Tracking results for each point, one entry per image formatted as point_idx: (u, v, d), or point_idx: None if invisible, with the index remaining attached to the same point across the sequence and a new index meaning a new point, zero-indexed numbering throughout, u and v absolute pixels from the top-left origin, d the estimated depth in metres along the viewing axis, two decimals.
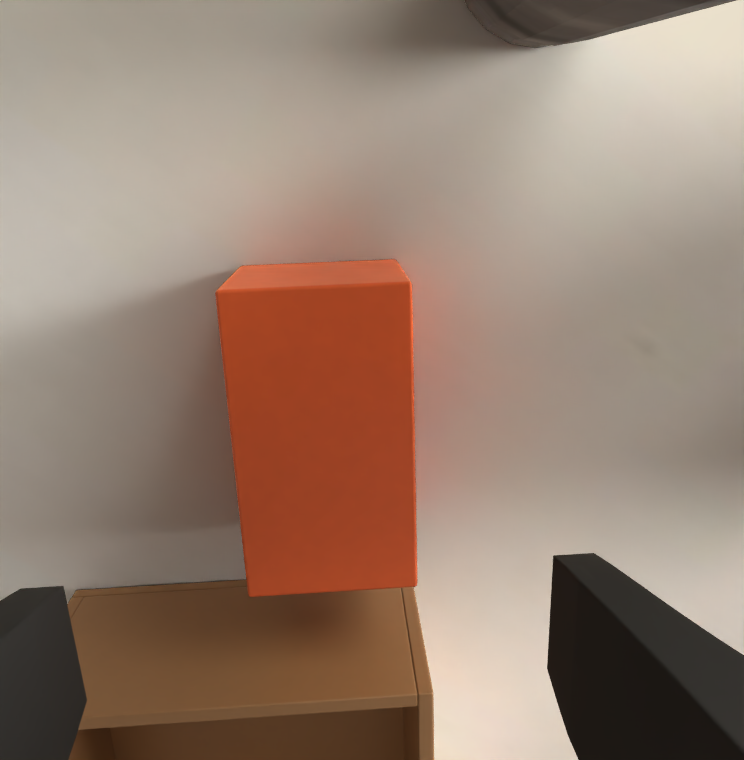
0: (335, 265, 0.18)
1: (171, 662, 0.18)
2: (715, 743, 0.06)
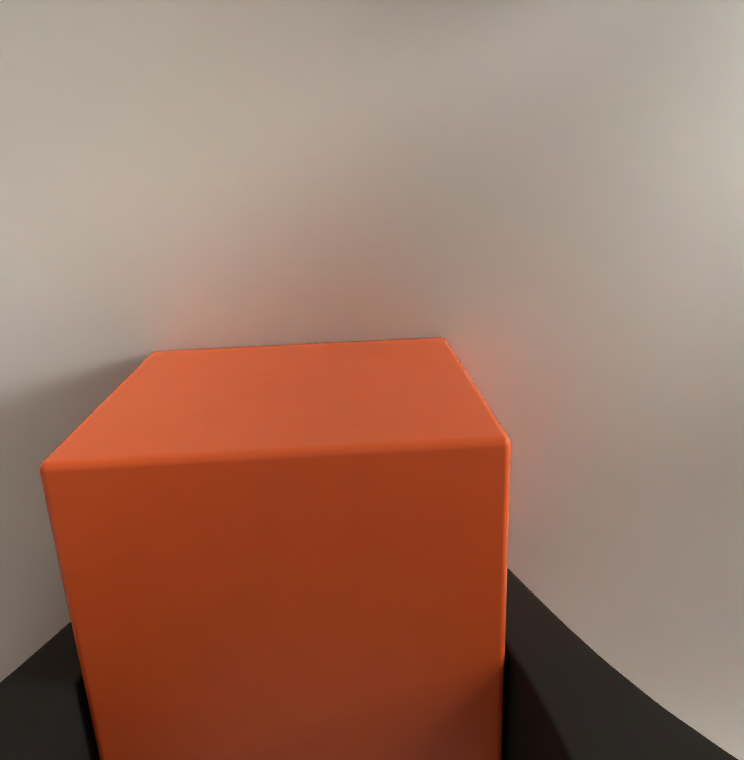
0: (331, 356, 0.09)
1: None
2: (558, 754, 0.06)
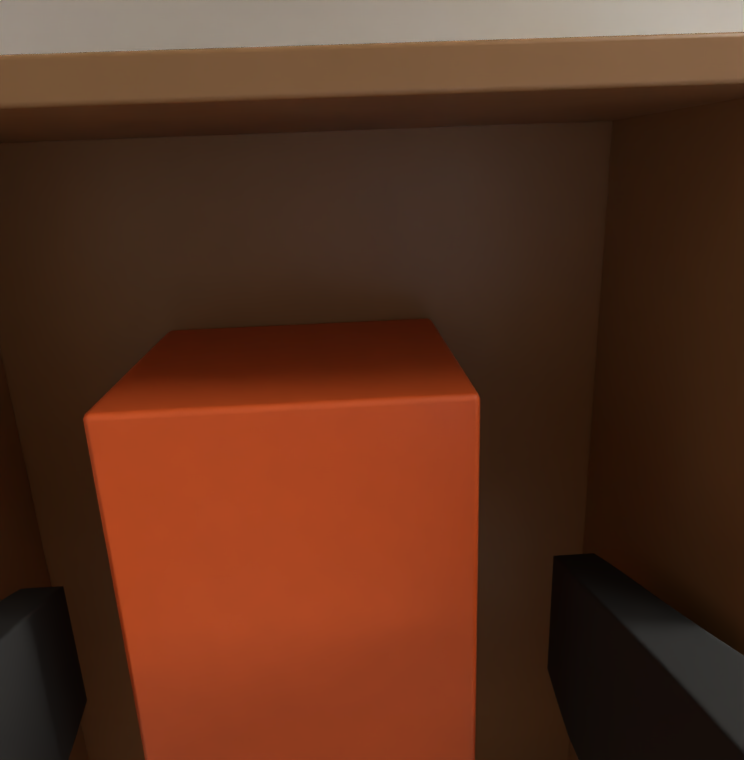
0: (329, 334, 0.10)
1: None
2: (715, 743, 0.06)
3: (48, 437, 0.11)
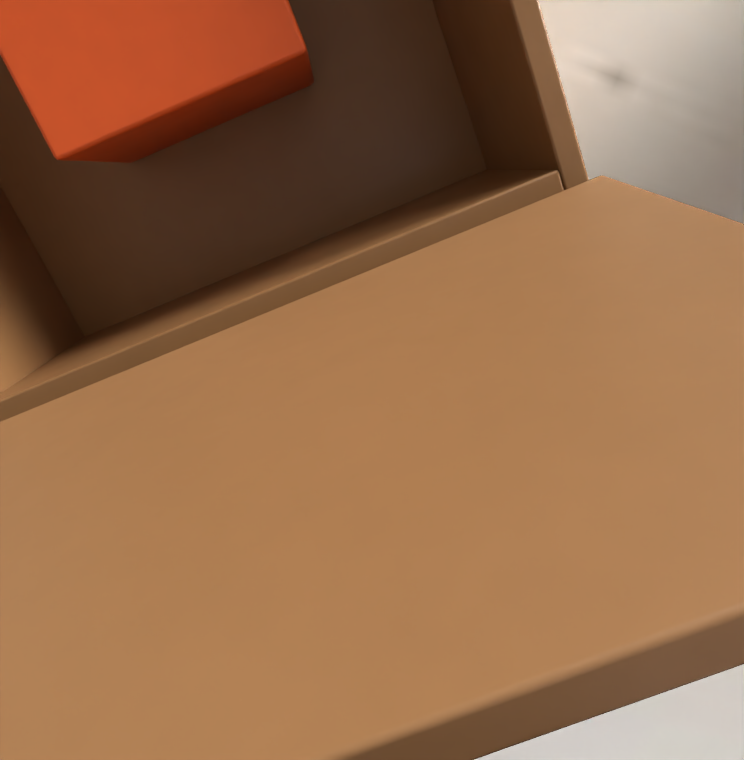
0: None
1: None
2: None
3: None
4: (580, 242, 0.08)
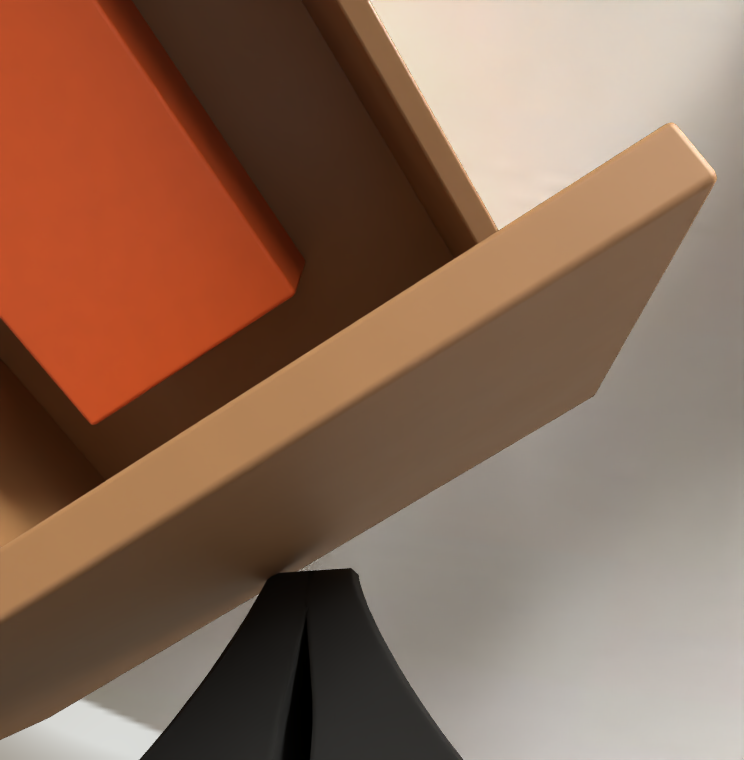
0: None
1: None
2: None
3: None
4: None
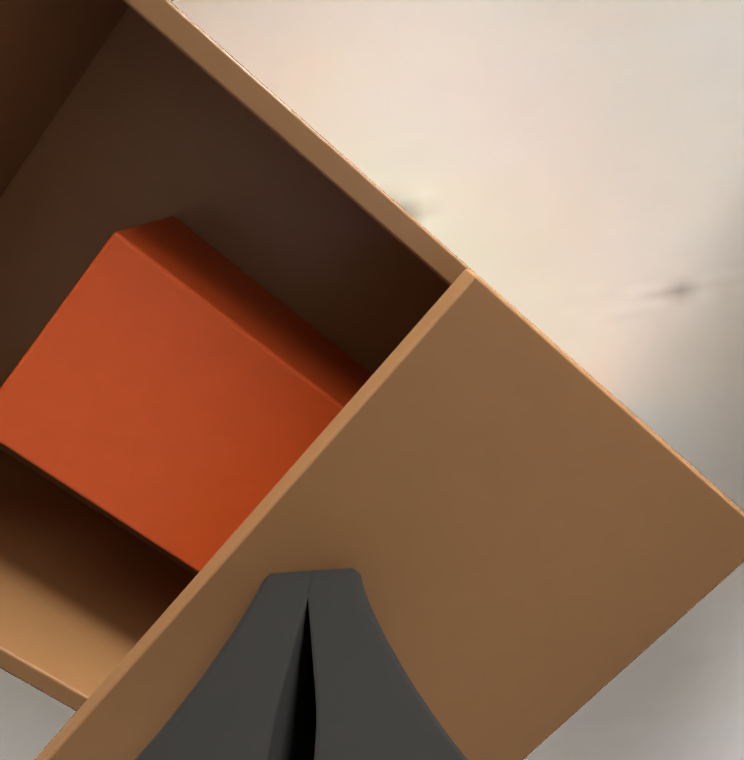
0: None
1: None
2: None
3: None
4: None
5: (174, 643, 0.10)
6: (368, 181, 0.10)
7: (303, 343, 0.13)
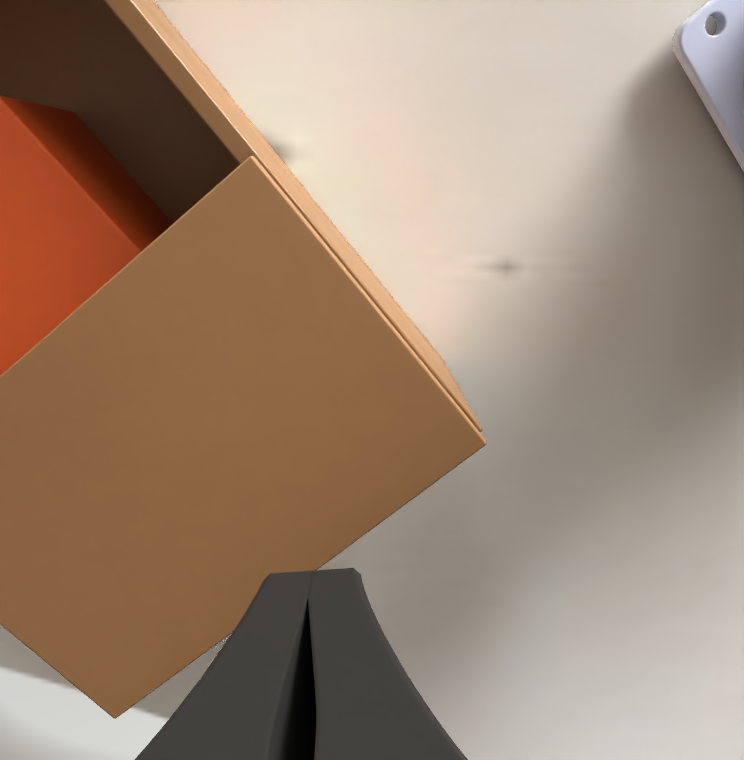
0: None
1: None
2: None
3: None
4: None
5: (0, 397, 0.13)
6: (201, 88, 0.12)
7: None
